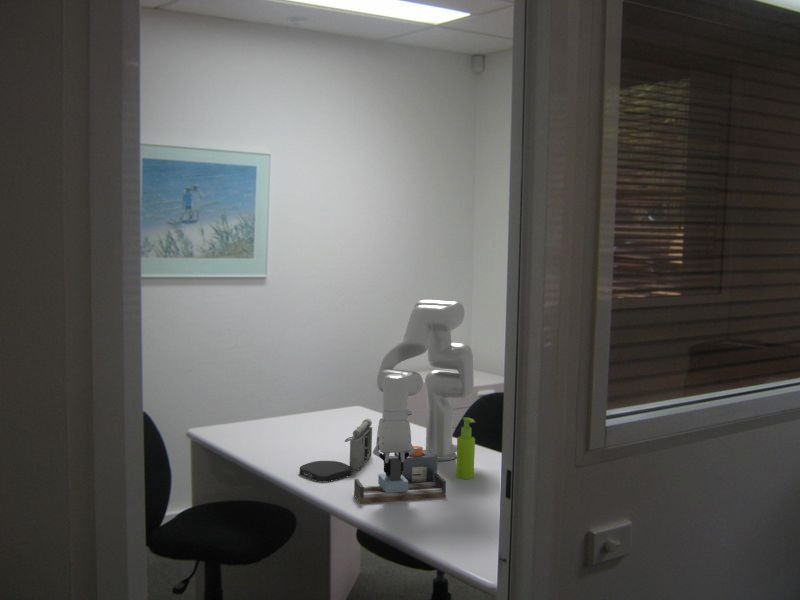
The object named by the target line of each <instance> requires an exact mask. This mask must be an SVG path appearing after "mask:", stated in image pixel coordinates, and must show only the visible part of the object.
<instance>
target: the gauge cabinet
mask: <svg viewBox="0 0 800 600" xmlns="http://www.w3.org/2000/svg"><path fill="white" fill-rule="evenodd" d="M393 456H397V457H398V458H399V455H398V453H393ZM435 474H438V461H437V456H436V455H435V454H434V453H433V452H432V451H431V450H426V449H423V456H413V457H410V456H408V457H407V458H406V459H405V461H404V462H403V471H402V475H403V476H404V477H405V478H406V480H407V481H408V484H410V483H424V482H434V477H435Z"/></svg>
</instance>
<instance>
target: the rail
mask: <svg viewBox="0 0 800 600" xmlns="http://www.w3.org/2000/svg"><path fill="white" fill-rule="evenodd" d="M353 484H354V488H353V489H354V490H353V491H354V492H353V493H354V494H353V495H354V496H356V497H355V498H356V500H357V499H358V500H357V501H358V503H359V504H371V503H372V502H373V503H385V502H387V503H388V502H398V501H411V500H412V501H414V500H423V499H424V500H425V499H439V498H440V497H441V498H446V495H447V494H446V490H447V489H446V488H447V481H446V480H445V479H444V477H442V476H440V474H438V473H437V474H435V477H434V482H424V483H410V484H408V491H404V492H390V493H386V492H385V491H384V490H383V489H382V487H381V486H380V485H368V486H367V485H366V486H364V485H363V484H362V483H361V481H360V480H359V479H358V478H354V483H353ZM373 503H372V504H373Z"/></svg>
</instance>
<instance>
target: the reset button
mask: <svg viewBox="0 0 800 600" xmlns="http://www.w3.org/2000/svg"><path fill="white" fill-rule="evenodd" d="M412 446H413V448H414V450H415V452H414V453H412V454H411V455H409V456H410V457H413V456H423V450H424V449H423V446H419V445H412Z"/></svg>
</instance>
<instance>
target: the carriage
mask: <svg viewBox="0 0 800 600" xmlns="http://www.w3.org/2000/svg"><path fill="white" fill-rule="evenodd" d="M389 463H390V475H389V476H387V475H386V473H378V475H377V477H378V480H377V481H378V482H377V483H378V484H377V485H378V486H381V487H382V489H383V490H384V491H385V492H386V493H390V492H404V491H408V481H407V480H406V478H405V477H404V476H403V475H401V460H400V459H399V458H398V457H397V456H394V455H389Z"/></svg>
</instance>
